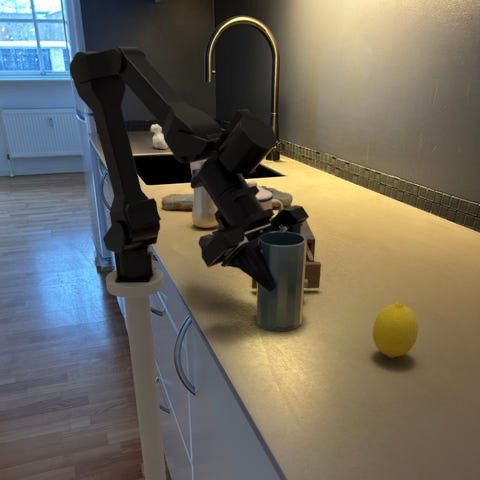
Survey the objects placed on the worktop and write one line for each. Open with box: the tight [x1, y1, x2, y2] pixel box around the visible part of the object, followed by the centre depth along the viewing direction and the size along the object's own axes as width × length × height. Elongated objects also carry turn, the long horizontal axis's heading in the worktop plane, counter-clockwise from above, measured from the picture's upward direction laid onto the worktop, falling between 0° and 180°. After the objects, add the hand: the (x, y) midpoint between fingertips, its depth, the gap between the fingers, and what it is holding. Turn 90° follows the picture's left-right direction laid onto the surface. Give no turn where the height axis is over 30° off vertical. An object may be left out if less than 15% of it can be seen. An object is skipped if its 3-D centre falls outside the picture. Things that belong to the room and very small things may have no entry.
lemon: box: [372, 302, 419, 359], centre depth 66 cm, size 6×6×8 cm
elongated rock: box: [160, 185, 293, 211], centre depth 136 cm, size 35×5×10 cm
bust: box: [150, 123, 169, 150], centre depth 224 cm, size 12×8×11 cm
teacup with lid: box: [247, 180, 284, 215], centre depth 114 cm, size 12×9×12 cm
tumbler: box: [255, 231, 307, 332], centre depth 75 cm, size 7×7×13 cm
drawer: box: [251, 244, 322, 290], centre depth 89 cm, size 18×11×4 cm, turn 1°
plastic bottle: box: [189, 160, 218, 229], centre depth 116 cm, size 6×7×20 cm
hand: (288, 282), depth 74 cm, fingers closed on tumbler, 7 cm apart
